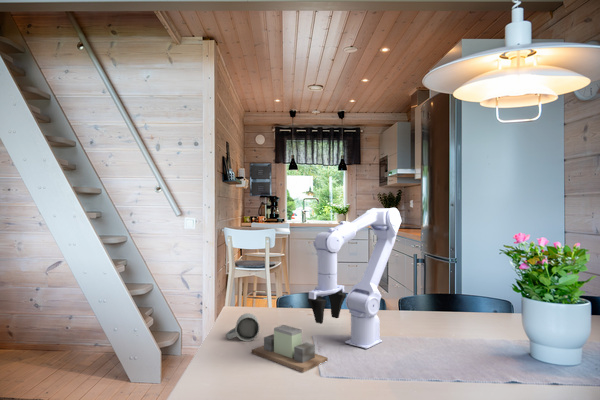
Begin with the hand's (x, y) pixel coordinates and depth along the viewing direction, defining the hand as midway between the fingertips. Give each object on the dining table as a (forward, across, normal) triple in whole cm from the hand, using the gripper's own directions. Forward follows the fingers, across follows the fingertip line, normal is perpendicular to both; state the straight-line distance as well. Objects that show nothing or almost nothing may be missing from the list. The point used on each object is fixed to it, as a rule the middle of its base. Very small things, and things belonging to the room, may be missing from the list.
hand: (327, 320), depth 113 cm
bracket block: (+8, +10, -6) cm, 15 cm away
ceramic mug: (+10, +8, -28) cm, 31 cm away
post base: (+9, +10, -6) cm, 15 cm away
